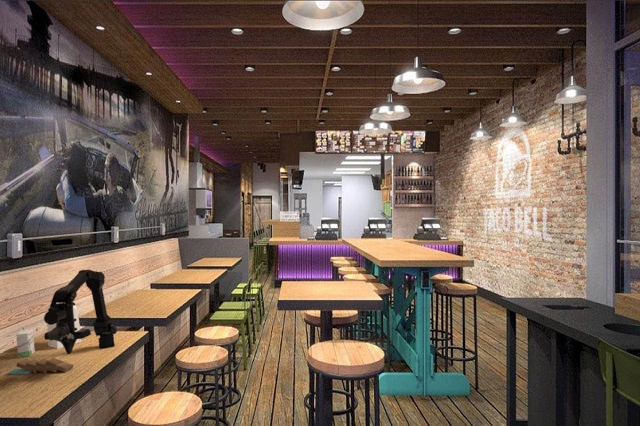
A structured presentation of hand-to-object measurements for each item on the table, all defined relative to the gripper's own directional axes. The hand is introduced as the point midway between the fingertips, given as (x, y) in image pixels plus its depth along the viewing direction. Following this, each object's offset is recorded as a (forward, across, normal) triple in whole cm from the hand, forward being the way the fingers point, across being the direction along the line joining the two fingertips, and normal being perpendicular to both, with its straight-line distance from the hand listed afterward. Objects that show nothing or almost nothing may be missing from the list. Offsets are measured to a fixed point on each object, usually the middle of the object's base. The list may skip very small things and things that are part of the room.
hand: (69, 353), depth 181 cm
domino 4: (+7, -5, 0) cm, 8 cm away
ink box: (+8, -43, +20) cm, 48 cm away
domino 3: (+7, -10, 0) cm, 12 cm away
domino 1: (+7, -18, -1) cm, 19 cm away
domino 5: (+7, -1, 0) cm, 7 cm away
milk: (+8, -35, +36) cm, 51 cm away
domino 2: (+7, -15, 0) cm, 16 cm away
